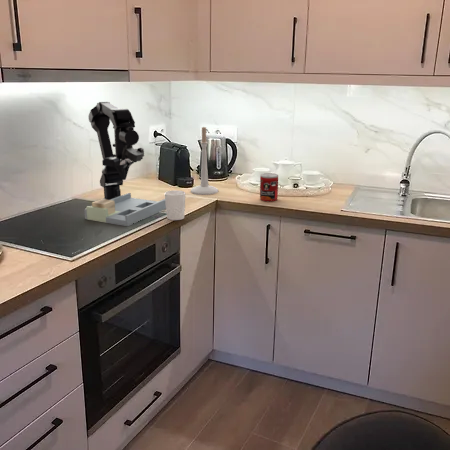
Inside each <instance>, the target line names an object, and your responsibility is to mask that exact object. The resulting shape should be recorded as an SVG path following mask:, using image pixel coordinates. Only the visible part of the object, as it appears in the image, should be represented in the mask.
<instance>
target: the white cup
mask: <svg viewBox="0 0 450 450" xmlns="http://www.w3.org/2000/svg"><path fill="white" fill-rule="evenodd" d="M164 199H165V205H166V209H165V211H166V219H167V220H170V221H180V220H184V219H185V212H186V191H183V190H176V189H174V190H167V191H165V192H164Z"/></svg>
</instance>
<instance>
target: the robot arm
mask: <svg viewBox="0 0 450 450" xmlns="http://www.w3.org/2000/svg"><path fill="white" fill-rule="evenodd" d="M88 121H89V123H90V126H91V128H92V129H93V130H94V132H96V134H97V135H96V136H97V139H98V143H99V148H100V152H101V157H102V161H101V162H102V170H101V176H100V180H99V185H100V187H102V188H103V194H104V195H103V196H104V197H103V198H102V199H106V200H111V199H113V198H116V197H119V196H122V193H121V188H120V186H124V185H123V184H124V181H125V180H126V179H127V176H128V173H129V169H130V167H131V166H132V165H133V164H134V163H137V162H141V161H142V160H143V159H144V158H143V157H145V150H144V148H143V147H138V148H134V147H133V146H134V145H136V144H137V143H138V142H139V140H140V135H139V133H138V131H136V130H135V127H136V126H135V125H136V121H135V119H134V117H133V115H132V113H131V111H130V110H129V109H128V108H119V107H117V106H115V105H114V104H112V103H111V102H110V101H99V102H97V103H96V105H95V106H94V107H93V108H92V109H90V110H89V113H88ZM110 123H112V129H114V133H113V134H114V143H113V144H111V138H110V135H109V130H108V129H109V126H110ZM112 147H114V151H115V153H114V152H113V148H112Z"/></svg>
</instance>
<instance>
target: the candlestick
mask: <svg viewBox="0 0 450 450" xmlns="http://www.w3.org/2000/svg"><path fill="white" fill-rule="evenodd" d="M208 143H209V142H208V141H207V127H206V126H202V127H201V141H200V145H201V148H202V149H201V165H200V166H201V168H200V170H201V171H200V184H199V185H197V186H193V187H191V189H190V193H192V194H194V195H199V196H200V195H201V196H206V195H207V196H208V195H209V196H211V195H216V194H217V193H219V189H218V188H217V187H216V186H213V185H209V175H208V173H209V172H208V156H207V155H208V154H207V151H208V150H207V146H208Z"/></svg>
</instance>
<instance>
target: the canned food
mask: <svg viewBox="0 0 450 450" xmlns="http://www.w3.org/2000/svg"><path fill="white" fill-rule="evenodd" d="M259 184H260V185H259V199H260V201H263V202H267V201H269V202H270V201H271V202H276V201H277V200H278V194H279V174H278V173H274V172H265V173H261V174H260V181H259Z"/></svg>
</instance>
